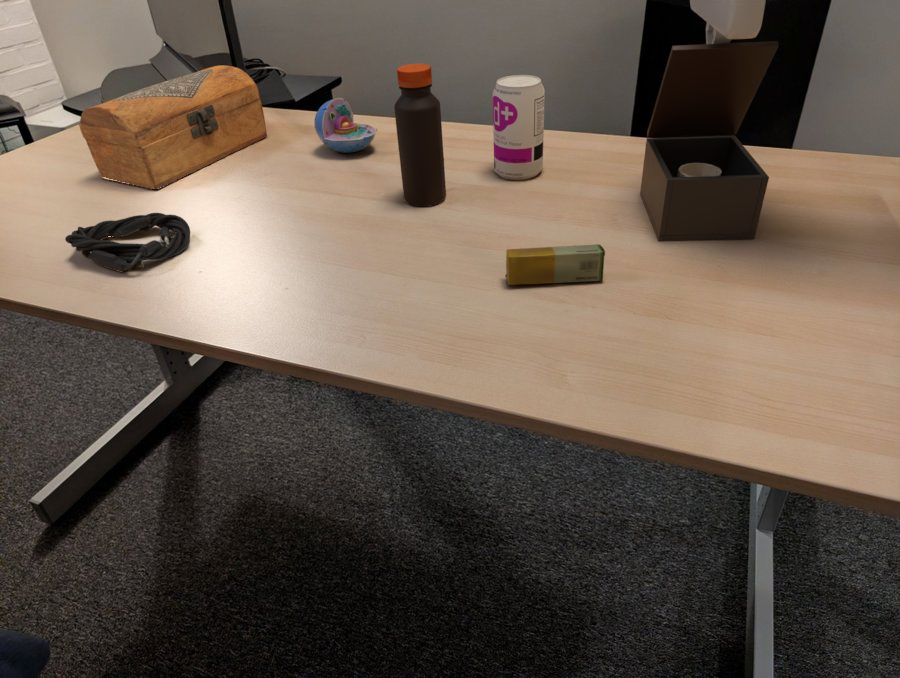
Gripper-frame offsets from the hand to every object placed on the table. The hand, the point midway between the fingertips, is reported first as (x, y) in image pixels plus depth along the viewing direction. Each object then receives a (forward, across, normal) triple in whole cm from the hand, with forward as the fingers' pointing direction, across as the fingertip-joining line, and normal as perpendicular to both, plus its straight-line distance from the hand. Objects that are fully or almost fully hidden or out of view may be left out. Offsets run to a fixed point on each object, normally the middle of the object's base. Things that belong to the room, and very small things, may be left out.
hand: (713, 61), depth 85 cm
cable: (+20, -10, +82) cm, 85 cm away
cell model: (+20, +28, +57) cm, 67 cm away
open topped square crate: (+20, -3, 0) cm, 21 cm away
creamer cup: (+20, -3, 0) cm, 20 cm away
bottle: (+20, +5, +40) cm, 45 cm away
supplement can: (+20, +15, +25) cm, 36 cm away
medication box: (+20, -20, +21) cm, 36 cm away
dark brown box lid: (+4, 0, 0) cm, 4 cm away
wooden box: (+20, +27, +88) cm, 95 cm away
